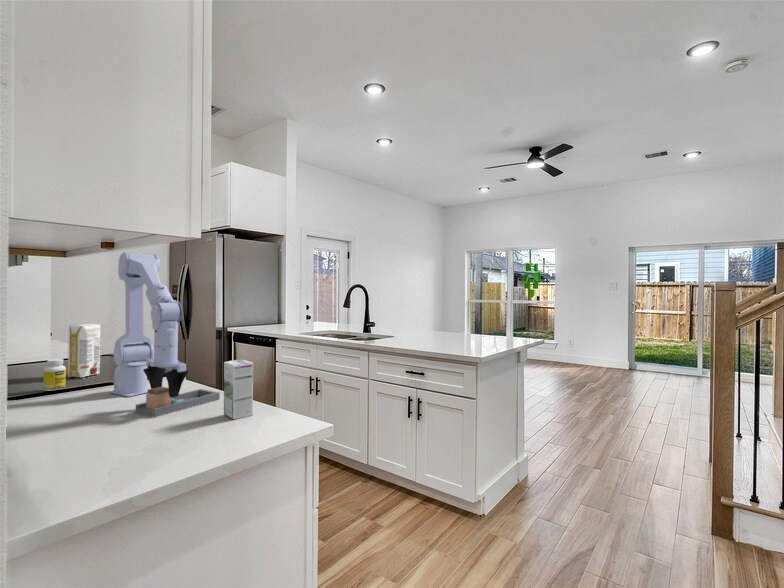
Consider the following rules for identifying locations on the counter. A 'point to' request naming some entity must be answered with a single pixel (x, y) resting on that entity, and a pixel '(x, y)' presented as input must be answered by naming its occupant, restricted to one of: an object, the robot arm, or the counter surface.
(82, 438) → the counter surface
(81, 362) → the juice carton
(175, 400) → the pusher
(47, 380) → the supplement bottle
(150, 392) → the tan cardboard cube box
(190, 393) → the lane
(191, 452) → the counter surface
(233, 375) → the syrup box
